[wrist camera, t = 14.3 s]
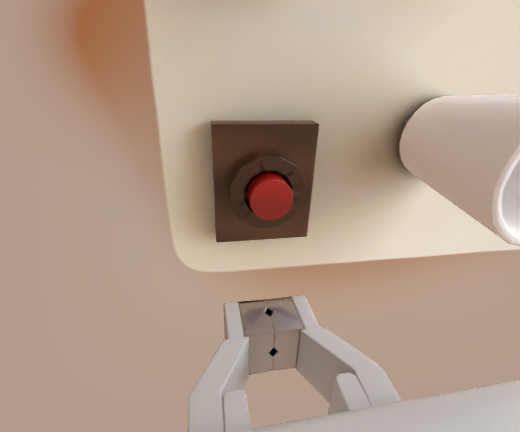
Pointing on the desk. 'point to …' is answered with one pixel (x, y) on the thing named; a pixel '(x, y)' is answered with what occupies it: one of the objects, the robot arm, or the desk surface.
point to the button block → (254, 164)
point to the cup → (470, 156)
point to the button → (269, 196)
